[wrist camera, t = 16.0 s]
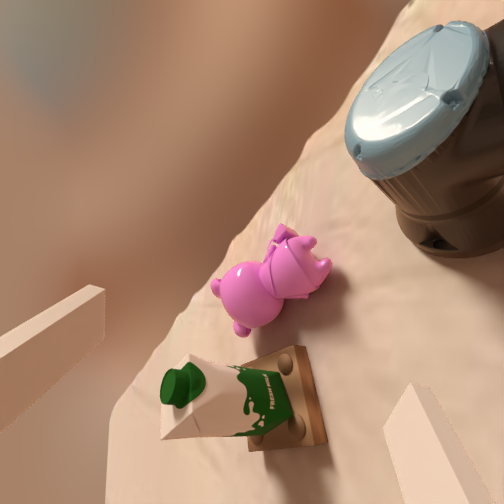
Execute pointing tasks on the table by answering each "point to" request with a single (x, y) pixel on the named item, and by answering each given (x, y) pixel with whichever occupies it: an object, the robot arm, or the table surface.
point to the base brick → (292, 402)
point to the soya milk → (220, 400)
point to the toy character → (271, 281)
